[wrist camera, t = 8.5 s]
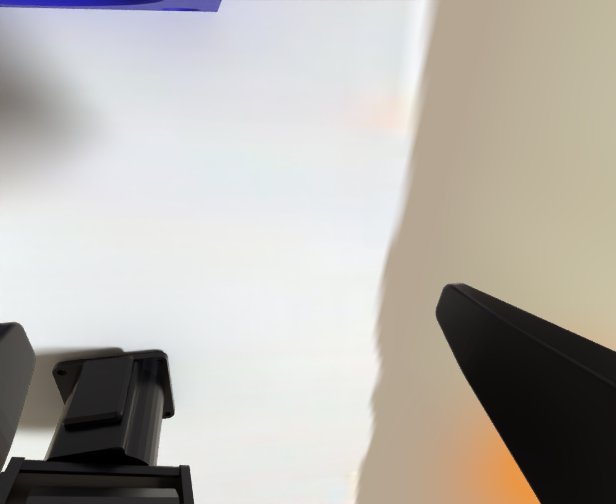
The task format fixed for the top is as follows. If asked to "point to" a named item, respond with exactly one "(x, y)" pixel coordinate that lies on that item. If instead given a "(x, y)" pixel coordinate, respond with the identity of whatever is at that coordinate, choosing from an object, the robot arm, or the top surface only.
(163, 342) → the top surface
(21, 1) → the cable clip
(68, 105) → the top surface
